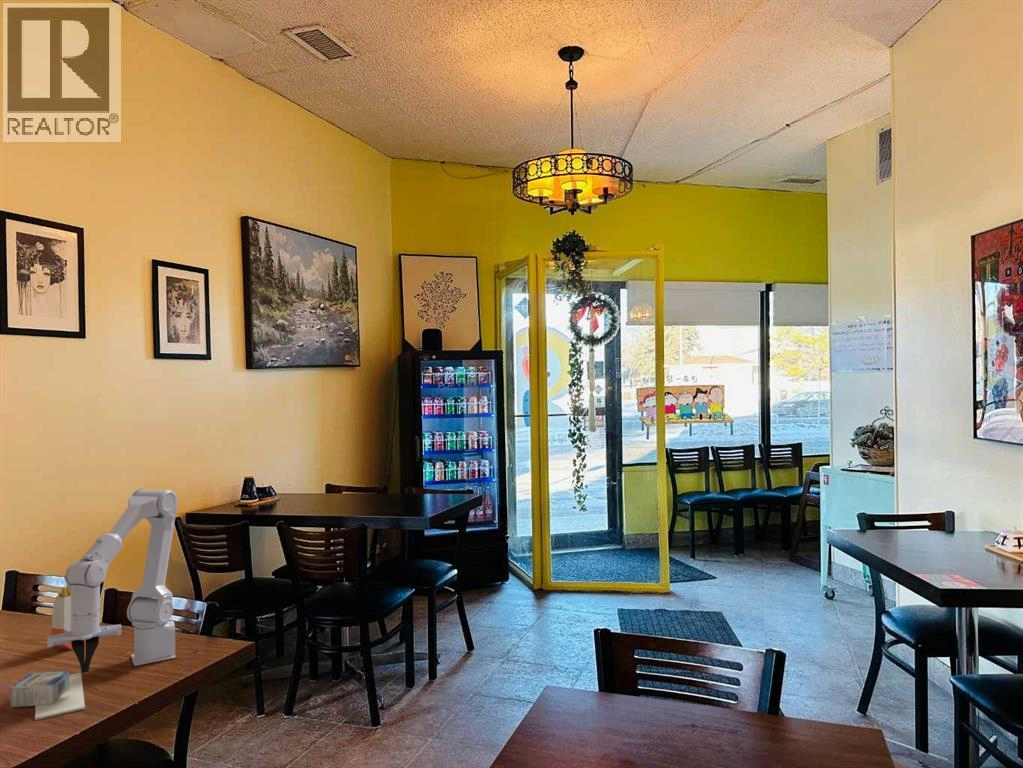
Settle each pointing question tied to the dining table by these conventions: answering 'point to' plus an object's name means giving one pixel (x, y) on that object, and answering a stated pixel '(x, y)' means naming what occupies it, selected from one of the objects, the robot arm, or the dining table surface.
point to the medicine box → (39, 689)
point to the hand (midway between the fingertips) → (84, 671)
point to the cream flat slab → (64, 700)
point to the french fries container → (62, 616)
